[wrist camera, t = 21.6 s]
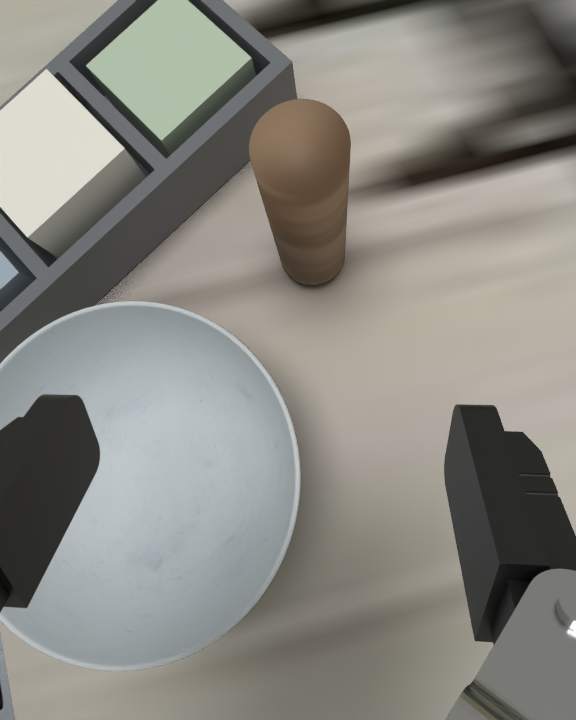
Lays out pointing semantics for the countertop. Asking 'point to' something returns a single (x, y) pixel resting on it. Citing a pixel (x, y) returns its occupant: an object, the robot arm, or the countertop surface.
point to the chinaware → (157, 484)
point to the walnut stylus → (304, 185)
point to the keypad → (163, 176)
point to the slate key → (12, 275)
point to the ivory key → (59, 166)
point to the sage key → (171, 72)
